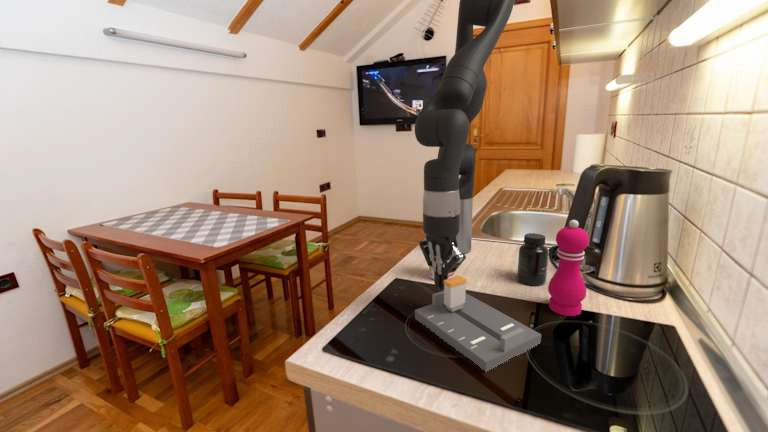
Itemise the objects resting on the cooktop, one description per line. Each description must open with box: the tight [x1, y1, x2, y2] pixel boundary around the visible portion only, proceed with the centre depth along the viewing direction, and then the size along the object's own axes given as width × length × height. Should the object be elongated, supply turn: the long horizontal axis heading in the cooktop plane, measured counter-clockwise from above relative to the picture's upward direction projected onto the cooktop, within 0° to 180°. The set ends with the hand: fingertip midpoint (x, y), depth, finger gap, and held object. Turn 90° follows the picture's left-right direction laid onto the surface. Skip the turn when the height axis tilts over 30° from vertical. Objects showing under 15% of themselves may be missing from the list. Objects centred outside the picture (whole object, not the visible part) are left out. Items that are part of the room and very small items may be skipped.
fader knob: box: [443, 275, 467, 312], centre depth 73 cm, size 2×4×6 cm, turn 121°
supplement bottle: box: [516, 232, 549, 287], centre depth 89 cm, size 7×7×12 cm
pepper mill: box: [547, 219, 590, 317], centre depth 74 cm, size 7×7×20 cm
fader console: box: [414, 289, 542, 373], centre depth 69 cm, size 20×14×4 cm
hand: (441, 287), depth 77 cm, fingers closed
